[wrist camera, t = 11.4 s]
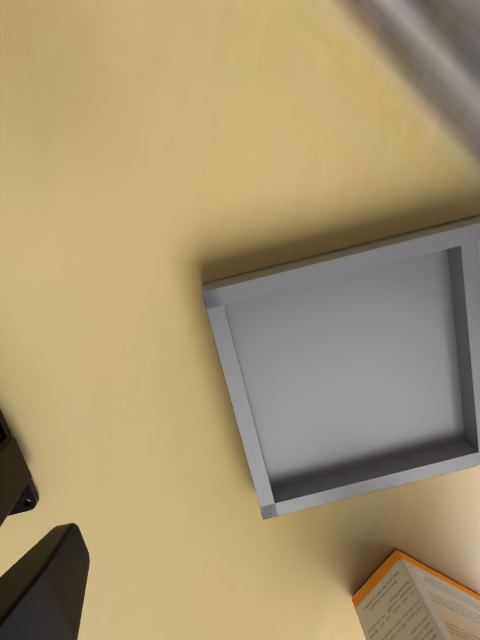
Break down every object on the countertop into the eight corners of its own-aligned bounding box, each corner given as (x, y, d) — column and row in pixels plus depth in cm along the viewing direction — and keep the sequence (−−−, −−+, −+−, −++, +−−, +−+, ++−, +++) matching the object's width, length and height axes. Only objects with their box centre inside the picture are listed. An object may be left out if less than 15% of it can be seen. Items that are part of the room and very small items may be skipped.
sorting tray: (258, 494, 24) (263, 519, 22) (202, 283, 21) (201, 292, 19) (671, 390, 24) (710, 406, 22) (684, 163, 21) (733, 159, 19)
